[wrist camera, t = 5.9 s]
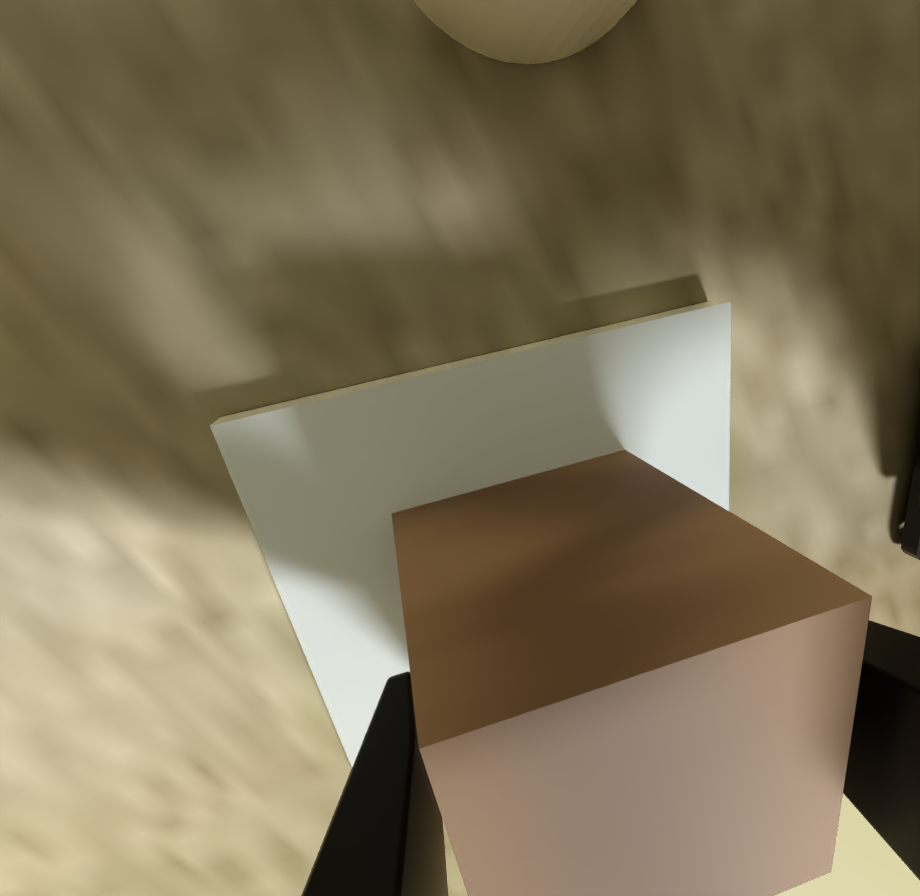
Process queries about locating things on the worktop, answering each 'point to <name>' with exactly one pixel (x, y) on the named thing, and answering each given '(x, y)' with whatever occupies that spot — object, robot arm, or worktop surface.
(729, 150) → the worktop surface
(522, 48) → the stoneware jar
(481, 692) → the walnut cube
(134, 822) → the worktop surface
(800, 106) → the worktop surface
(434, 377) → the tile
